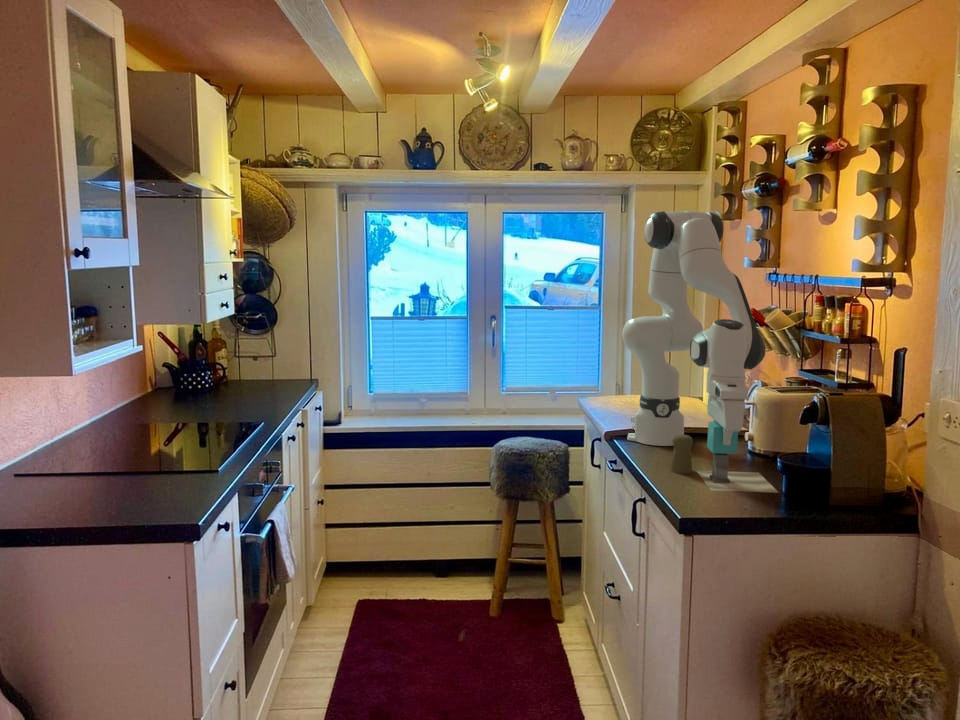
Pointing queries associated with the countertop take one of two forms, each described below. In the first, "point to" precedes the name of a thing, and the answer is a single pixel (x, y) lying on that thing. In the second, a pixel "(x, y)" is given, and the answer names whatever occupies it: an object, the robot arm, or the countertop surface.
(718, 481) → the stand
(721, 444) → the teal rounded cube
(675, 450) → the cork
